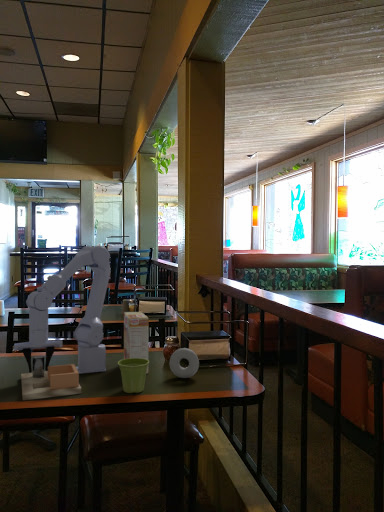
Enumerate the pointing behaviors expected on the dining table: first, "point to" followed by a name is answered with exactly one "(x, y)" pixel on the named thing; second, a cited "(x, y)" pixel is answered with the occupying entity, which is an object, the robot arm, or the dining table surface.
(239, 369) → the dining table surface
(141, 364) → the plant pot
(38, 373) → the peg
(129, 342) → the coffeecake box
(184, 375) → the donut
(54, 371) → the light brown open box
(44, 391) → the board
